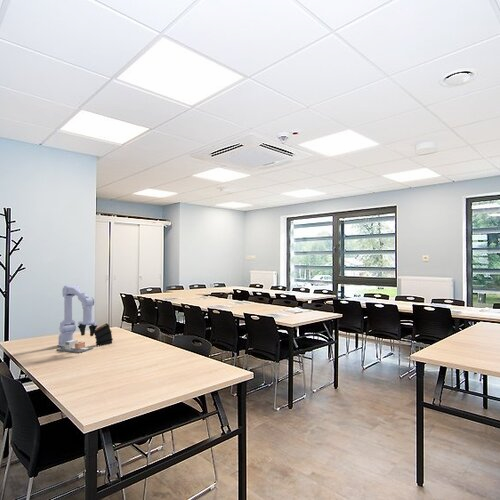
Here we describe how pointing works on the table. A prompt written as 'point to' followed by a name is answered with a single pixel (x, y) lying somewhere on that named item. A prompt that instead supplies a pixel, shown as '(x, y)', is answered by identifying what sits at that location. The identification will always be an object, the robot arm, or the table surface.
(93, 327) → the robot arm
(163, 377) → the table surface
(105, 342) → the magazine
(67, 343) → the block
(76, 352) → the din rail
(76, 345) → the block with grey knob
